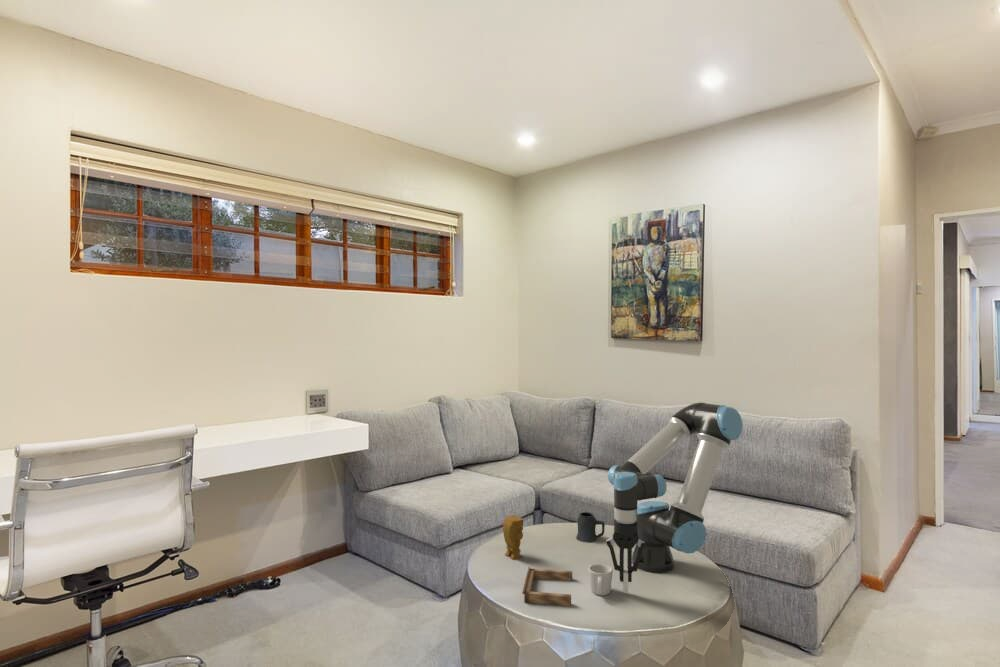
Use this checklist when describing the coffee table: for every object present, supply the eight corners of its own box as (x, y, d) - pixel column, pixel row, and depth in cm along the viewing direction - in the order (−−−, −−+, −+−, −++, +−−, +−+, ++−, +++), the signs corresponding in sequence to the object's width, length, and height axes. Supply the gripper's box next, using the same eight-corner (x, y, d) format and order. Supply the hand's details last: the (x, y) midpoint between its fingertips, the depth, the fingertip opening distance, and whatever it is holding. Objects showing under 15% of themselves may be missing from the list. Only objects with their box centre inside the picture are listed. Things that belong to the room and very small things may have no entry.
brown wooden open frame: (572, 579, 193) (572, 569, 193) (571, 606, 174) (571, 595, 174) (528, 576, 196) (528, 566, 196) (522, 602, 177) (522, 591, 177)
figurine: (524, 557, 212) (524, 519, 212) (511, 561, 208) (511, 522, 208) (514, 552, 218) (514, 514, 218) (500, 555, 214) (500, 517, 214)
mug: (574, 543, 226) (574, 516, 226) (576, 536, 235) (576, 510, 235) (603, 546, 223) (603, 519, 223) (605, 538, 232) (605, 512, 232)
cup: (612, 603, 176) (612, 578, 176) (587, 600, 178) (587, 576, 178) (612, 588, 187) (612, 564, 187) (588, 585, 188) (588, 562, 188)
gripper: (644, 517, 184) (644, 587, 184) (605, 515, 186) (605, 584, 186) (647, 525, 176) (647, 598, 176) (606, 522, 178) (606, 595, 178)
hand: (625, 591), depth 181 cm, fingers closed
